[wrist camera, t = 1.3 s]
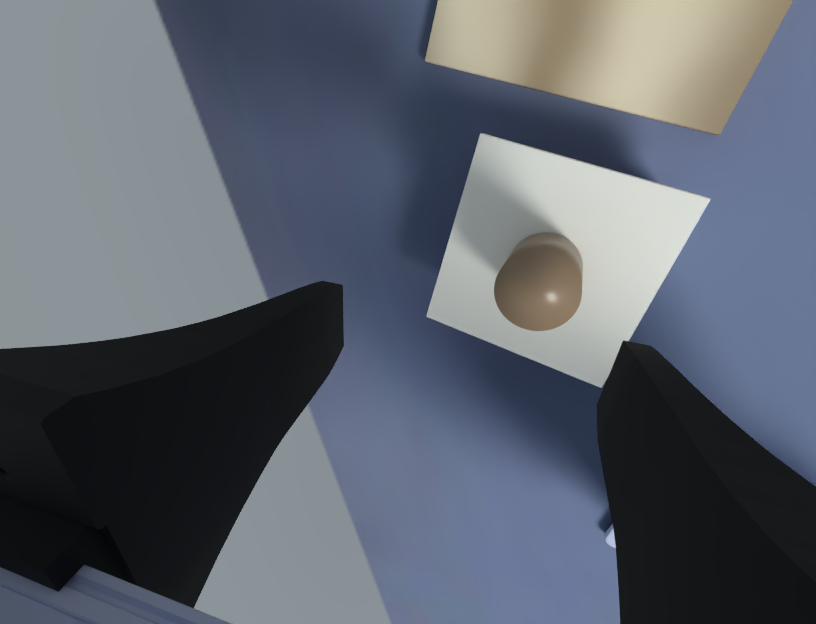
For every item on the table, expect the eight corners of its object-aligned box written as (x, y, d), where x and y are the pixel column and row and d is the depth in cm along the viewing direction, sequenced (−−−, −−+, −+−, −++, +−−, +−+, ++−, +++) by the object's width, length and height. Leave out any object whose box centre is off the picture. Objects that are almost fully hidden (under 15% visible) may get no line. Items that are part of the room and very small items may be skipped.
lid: (699, 193, 15) (739, 213, 11) (600, 369, 19) (603, 432, 15) (489, 133, 17) (459, 133, 13) (436, 304, 20) (401, 344, 17)
